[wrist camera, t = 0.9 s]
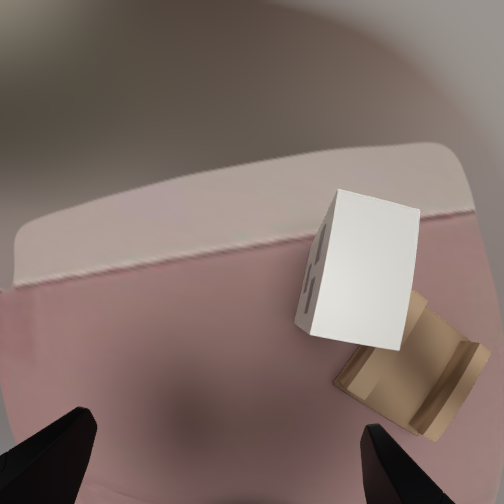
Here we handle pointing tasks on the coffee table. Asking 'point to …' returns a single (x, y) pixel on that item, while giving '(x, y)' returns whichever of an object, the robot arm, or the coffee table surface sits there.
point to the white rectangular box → (360, 272)
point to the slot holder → (416, 373)
